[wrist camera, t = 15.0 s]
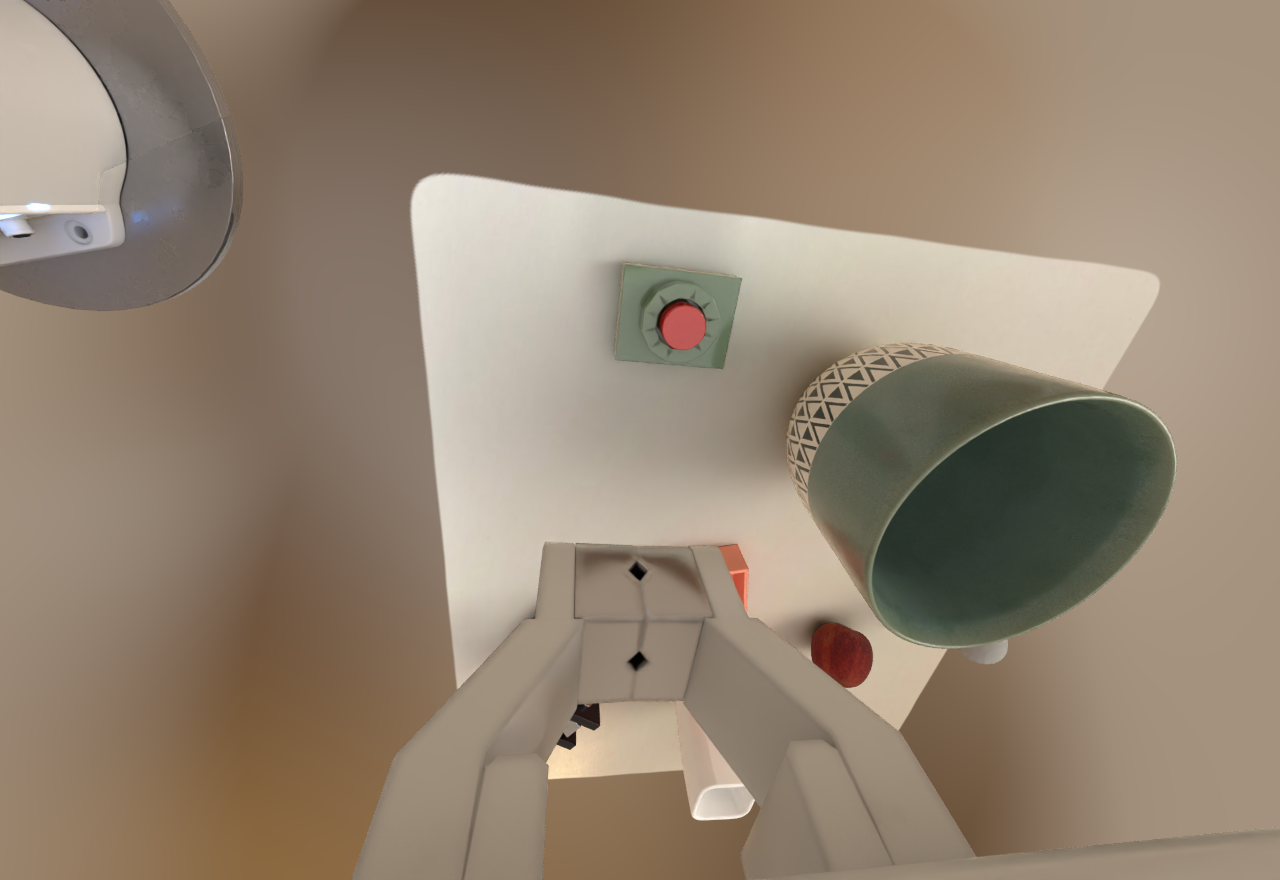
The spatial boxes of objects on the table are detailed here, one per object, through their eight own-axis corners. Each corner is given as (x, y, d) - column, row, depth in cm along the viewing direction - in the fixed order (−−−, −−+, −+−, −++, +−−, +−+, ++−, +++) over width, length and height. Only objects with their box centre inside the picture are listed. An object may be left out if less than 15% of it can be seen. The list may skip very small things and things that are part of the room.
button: (656, 342, 38) (659, 348, 37) (662, 299, 37) (665, 303, 35) (697, 346, 39) (702, 352, 37) (704, 304, 37) (710, 307, 36)
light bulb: (957, 602, 64) (1017, 665, 55) (919, 614, 64) (974, 679, 55) (958, 575, 61) (1021, 637, 52) (919, 588, 62) (976, 651, 53)
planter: (962, 315, 44) (1248, 393, 25) (902, 486, 53) (1081, 639, 34) (769, 312, 42) (926, 395, 23) (739, 492, 51) (835, 659, 32)
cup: (667, 700, 66) (688, 821, 53) (677, 666, 63) (702, 786, 50) (714, 699, 67) (747, 818, 54) (726, 666, 64) (764, 784, 51)
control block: (613, 353, 42) (616, 366, 38) (622, 261, 39) (626, 266, 35) (716, 362, 44) (728, 375, 40) (734, 275, 40) (749, 281, 37)
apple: (795, 622, 62) (822, 675, 55) (849, 602, 61) (884, 653, 54) (806, 654, 65) (833, 708, 58) (857, 635, 65) (891, 687, 57)
